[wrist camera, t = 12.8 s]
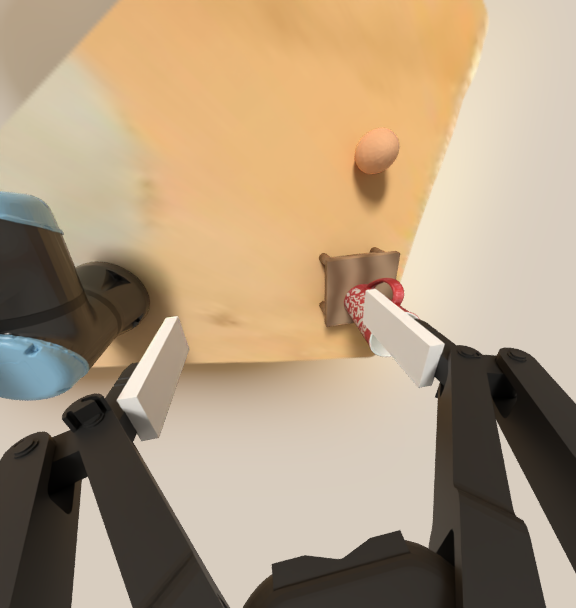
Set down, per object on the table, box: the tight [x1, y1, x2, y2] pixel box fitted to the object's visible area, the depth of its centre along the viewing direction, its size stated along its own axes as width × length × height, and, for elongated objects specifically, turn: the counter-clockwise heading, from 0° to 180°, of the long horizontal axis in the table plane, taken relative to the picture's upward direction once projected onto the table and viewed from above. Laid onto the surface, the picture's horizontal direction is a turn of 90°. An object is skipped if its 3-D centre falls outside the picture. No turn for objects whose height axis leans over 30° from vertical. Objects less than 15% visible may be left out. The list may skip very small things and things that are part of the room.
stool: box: [319, 247, 400, 327], centre depth 52 cm, size 15×15×8 cm
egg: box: [355, 128, 399, 174], centre depth 40 cm, size 7×7×9 cm
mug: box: [344, 278, 419, 357], centre depth 43 cm, size 13×9×14 cm
